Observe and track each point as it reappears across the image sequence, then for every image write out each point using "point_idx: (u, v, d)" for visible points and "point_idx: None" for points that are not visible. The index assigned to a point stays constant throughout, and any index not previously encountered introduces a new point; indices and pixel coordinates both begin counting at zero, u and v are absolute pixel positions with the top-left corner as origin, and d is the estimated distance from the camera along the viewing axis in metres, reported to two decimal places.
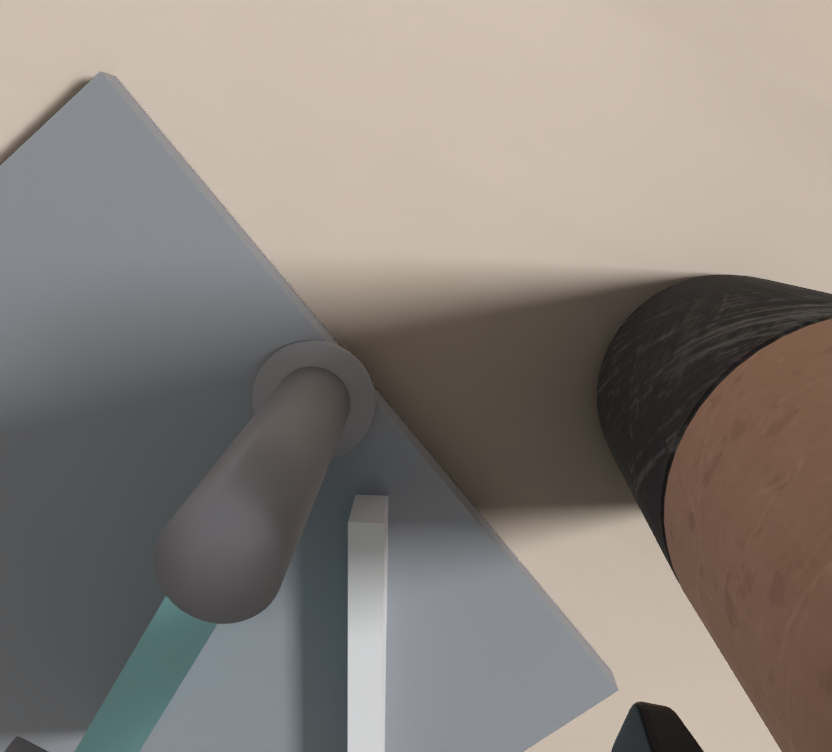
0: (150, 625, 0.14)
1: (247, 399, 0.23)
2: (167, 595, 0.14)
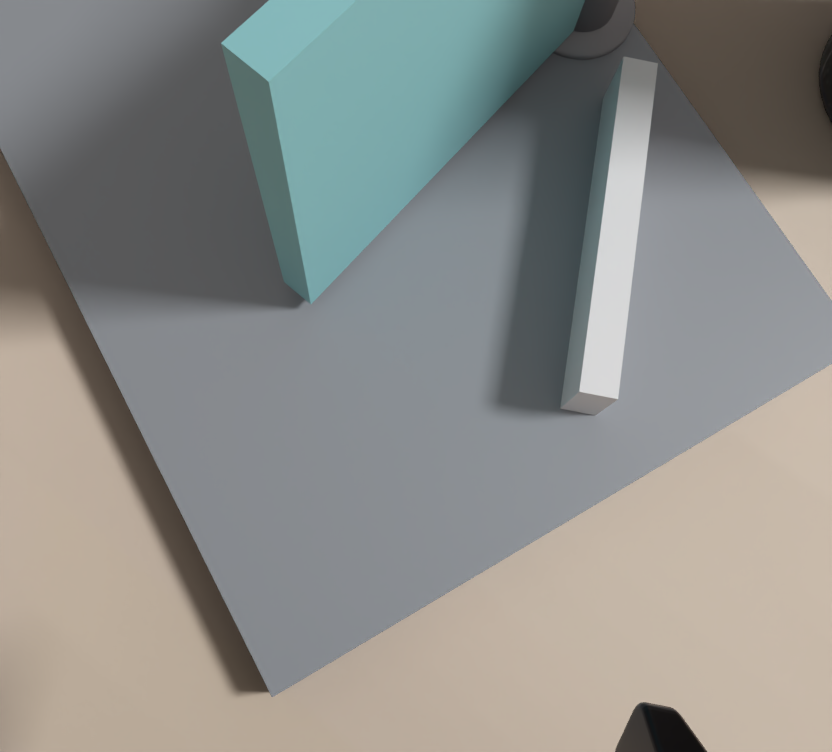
0: None
1: None
2: None
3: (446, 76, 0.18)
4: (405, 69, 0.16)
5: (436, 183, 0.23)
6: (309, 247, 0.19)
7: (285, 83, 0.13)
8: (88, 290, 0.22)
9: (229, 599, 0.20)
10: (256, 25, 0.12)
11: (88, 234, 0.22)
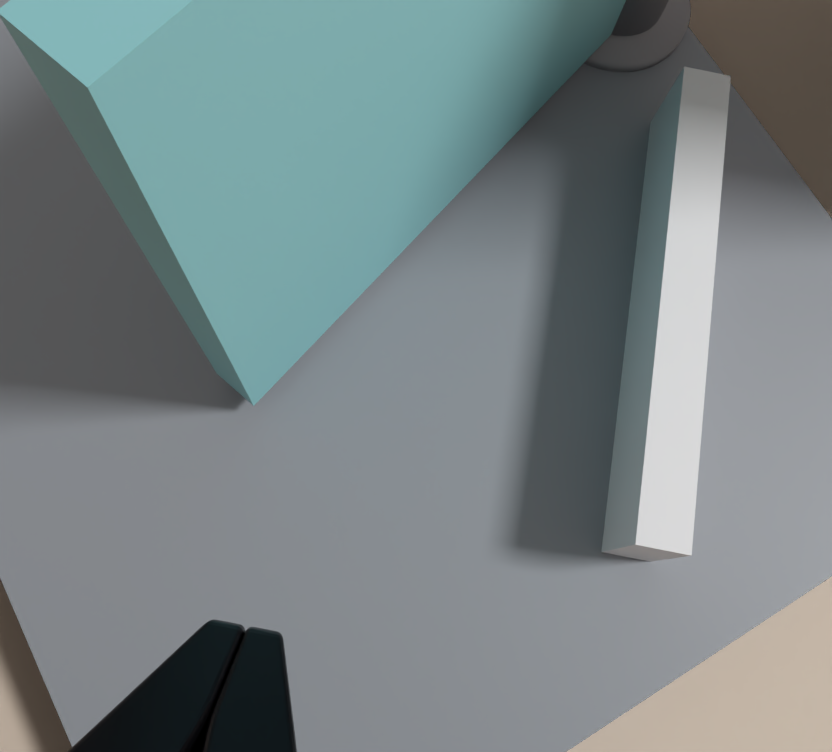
0: None
1: None
2: None
3: (444, 90, 0.12)
4: (378, 75, 0.10)
5: (429, 235, 0.17)
6: (238, 342, 0.12)
7: (133, 92, 0.06)
8: None
9: None
10: None
11: None
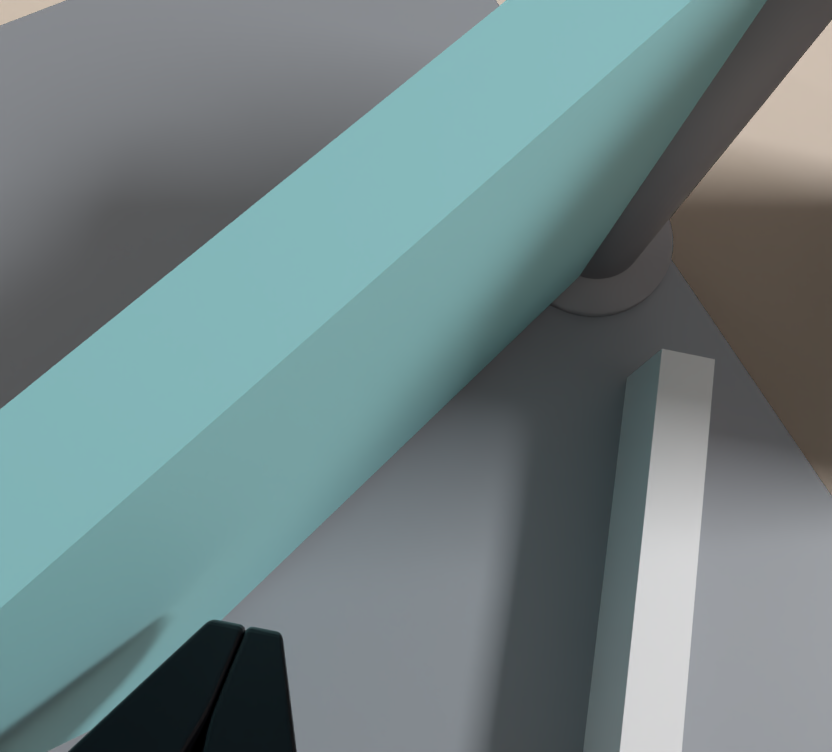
0: None
1: None
2: None
3: (326, 467, 0.10)
4: (204, 546, 0.08)
5: (375, 524, 0.15)
6: (67, 733, 0.11)
7: None
8: None
9: None
10: None
11: None
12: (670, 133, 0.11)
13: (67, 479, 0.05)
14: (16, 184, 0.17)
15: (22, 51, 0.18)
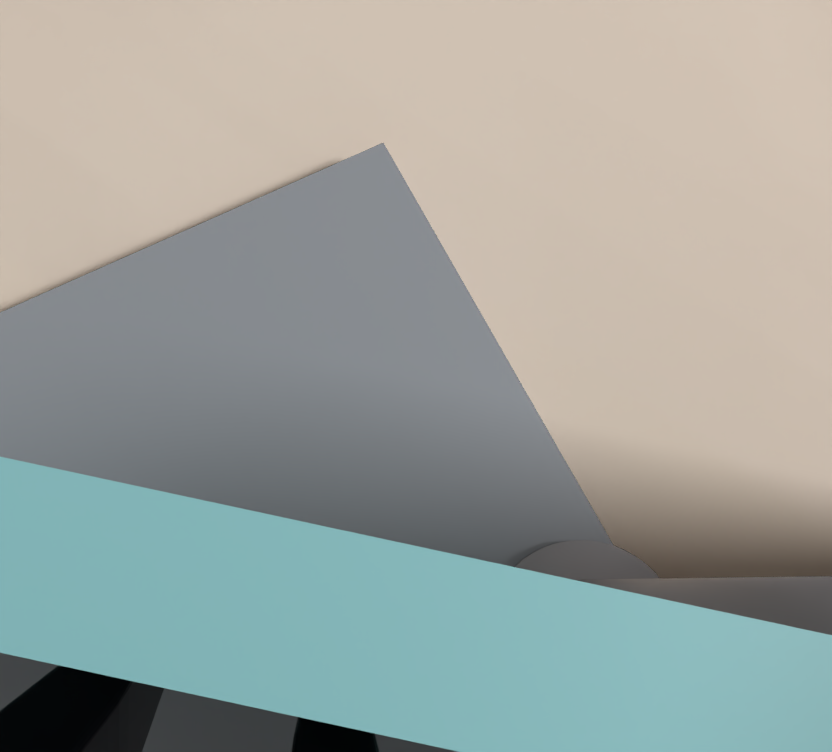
0: (784, 629, 0.04)
1: None
2: None
3: None
4: None
5: None
6: None
7: None
8: None
9: None
10: None
11: None
12: None
13: None
14: None
15: None
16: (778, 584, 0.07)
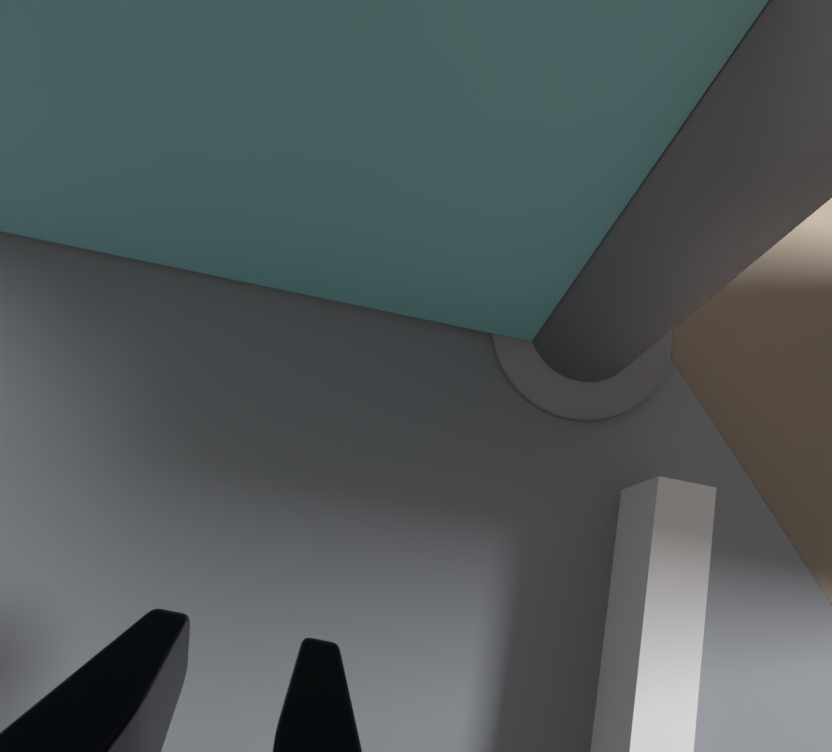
0: None
1: None
2: None
3: (106, 131, 0.11)
4: None
5: (347, 658, 0.14)
6: None
7: None
8: None
9: None
10: None
11: None
12: (597, 202, 0.10)
13: None
14: None
15: None
16: None
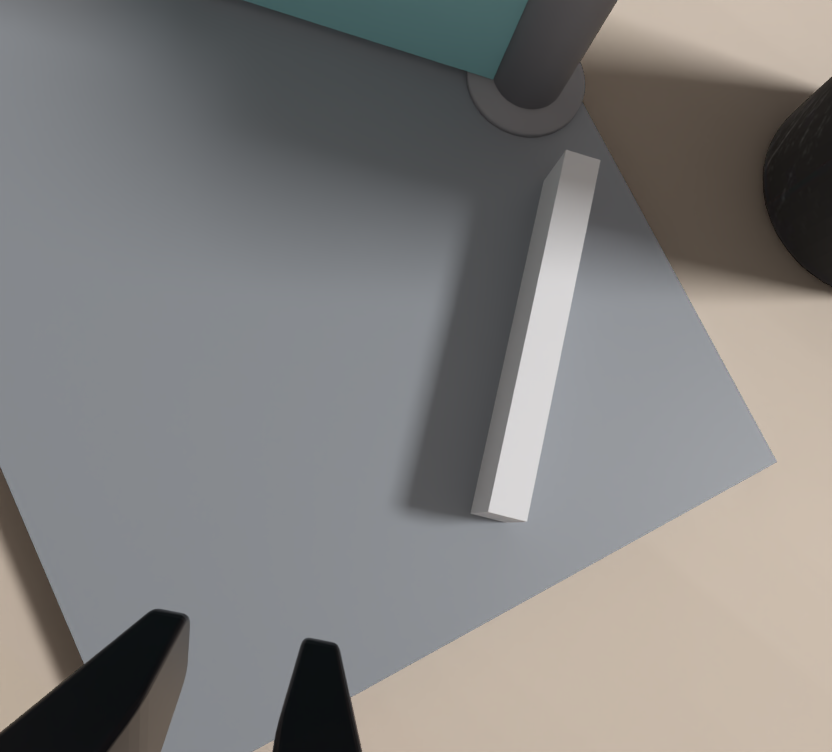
0: None
1: None
2: None
3: None
4: None
5: (362, 262, 0.22)
6: None
7: None
8: None
9: None
10: None
11: None
12: None
13: None
14: None
15: None
16: None
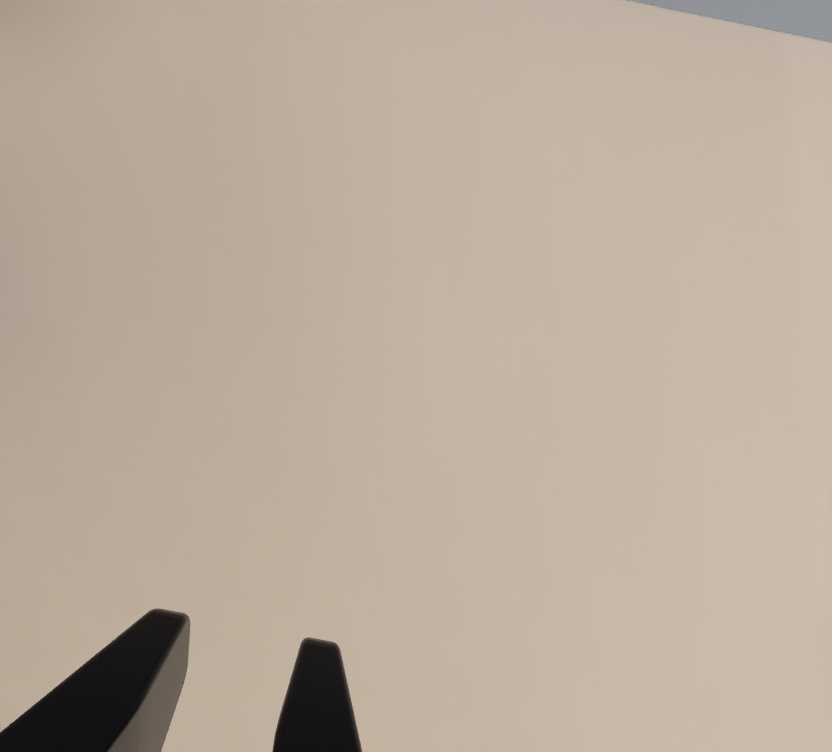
0: None
1: None
2: None
3: None
4: None
5: None
6: None
7: None
8: None
9: None
10: None
11: None
12: None
13: None
14: None
15: None
16: None
